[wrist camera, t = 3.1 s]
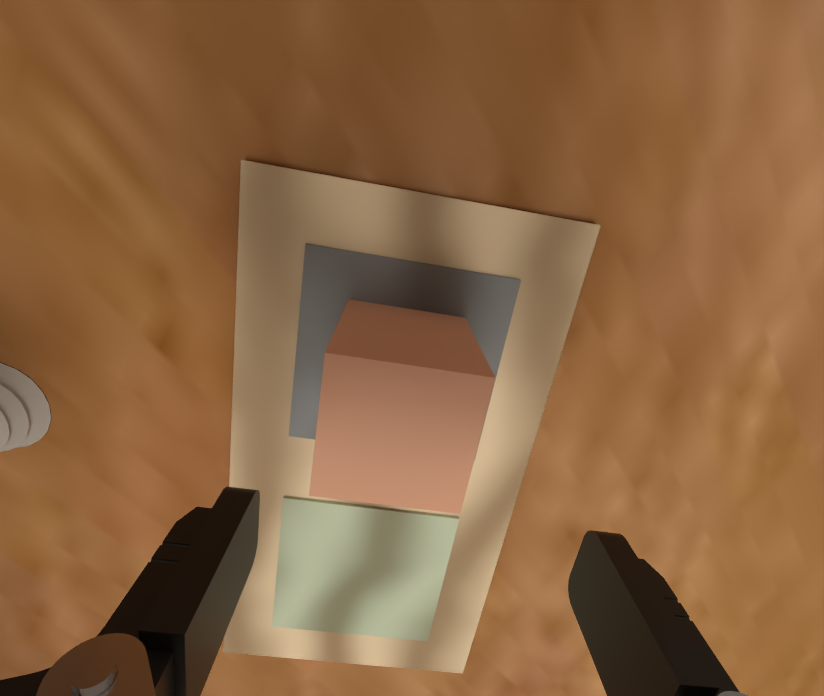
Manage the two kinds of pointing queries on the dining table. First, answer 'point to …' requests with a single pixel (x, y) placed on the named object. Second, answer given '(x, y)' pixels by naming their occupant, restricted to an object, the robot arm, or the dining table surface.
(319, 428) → the terracotta block
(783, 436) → the dining table surface
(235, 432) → the board
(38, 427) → the chalice
